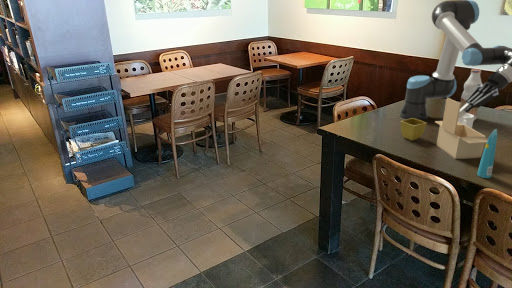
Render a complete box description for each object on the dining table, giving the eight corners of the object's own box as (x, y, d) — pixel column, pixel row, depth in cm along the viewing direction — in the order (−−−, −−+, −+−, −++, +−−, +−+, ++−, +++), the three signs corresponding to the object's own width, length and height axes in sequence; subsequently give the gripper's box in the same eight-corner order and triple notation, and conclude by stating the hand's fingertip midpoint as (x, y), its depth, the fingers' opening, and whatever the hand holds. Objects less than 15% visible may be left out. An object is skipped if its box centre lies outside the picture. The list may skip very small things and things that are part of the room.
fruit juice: (460, 120, 213) (469, 71, 203) (455, 115, 222) (464, 68, 211) (478, 121, 212) (489, 71, 201) (472, 116, 220) (482, 68, 210)
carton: (430, 140, 187) (433, 121, 183) (453, 139, 187) (457, 120, 184) (463, 165, 161) (467, 142, 157) (489, 163, 161) (495, 141, 157)
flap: (441, 127, 174) (446, 97, 169) (443, 127, 174) (448, 97, 169) (453, 134, 165) (459, 103, 160) (455, 134, 165) (461, 103, 160)
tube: (479, 170, 155) (489, 127, 148) (492, 174, 152) (503, 129, 145) (474, 177, 150) (485, 132, 143) (488, 181, 147) (499, 135, 140)
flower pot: (411, 142, 185) (414, 125, 181) (398, 137, 192) (400, 120, 188) (424, 139, 188) (427, 122, 185) (410, 134, 196) (412, 117, 192)
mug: (451, 129, 201) (455, 112, 197) (469, 131, 197) (473, 113, 194) (453, 137, 190) (456, 118, 187) (472, 139, 187) (476, 120, 184)
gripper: (487, 68, 167) (445, 106, 172) (508, 74, 155) (461, 114, 160) (496, 79, 169) (454, 116, 174) (517, 86, 157) (471, 126, 162)
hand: (457, 115), depth 167 cm, fingers closed
